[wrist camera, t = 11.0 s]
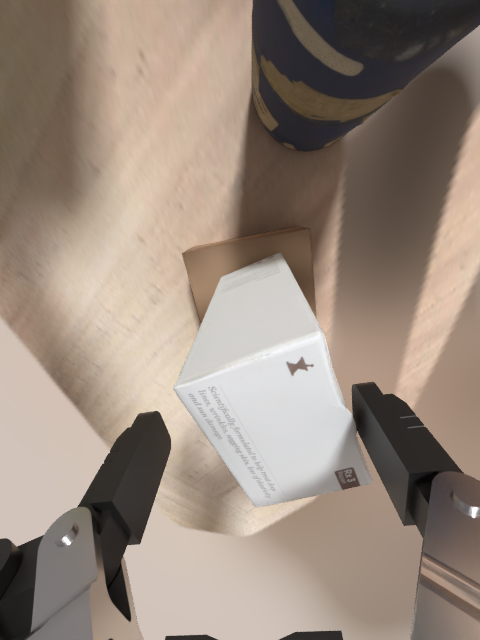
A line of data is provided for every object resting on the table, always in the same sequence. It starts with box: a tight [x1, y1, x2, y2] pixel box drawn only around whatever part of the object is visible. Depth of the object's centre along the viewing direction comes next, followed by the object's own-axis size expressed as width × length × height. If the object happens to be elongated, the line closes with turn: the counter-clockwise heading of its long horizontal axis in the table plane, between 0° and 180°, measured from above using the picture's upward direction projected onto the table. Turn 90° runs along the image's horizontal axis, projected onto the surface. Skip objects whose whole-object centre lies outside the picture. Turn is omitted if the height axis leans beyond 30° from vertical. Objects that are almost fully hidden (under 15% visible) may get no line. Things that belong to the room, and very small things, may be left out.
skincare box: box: [173, 253, 372, 507], centre depth 16 cm, size 8×6×15 cm
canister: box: [252, 0, 480, 151], centre depth 12 cm, size 10×10×18 cm
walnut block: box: [182, 226, 317, 323], centre depth 25 cm, size 11×11×5 cm
